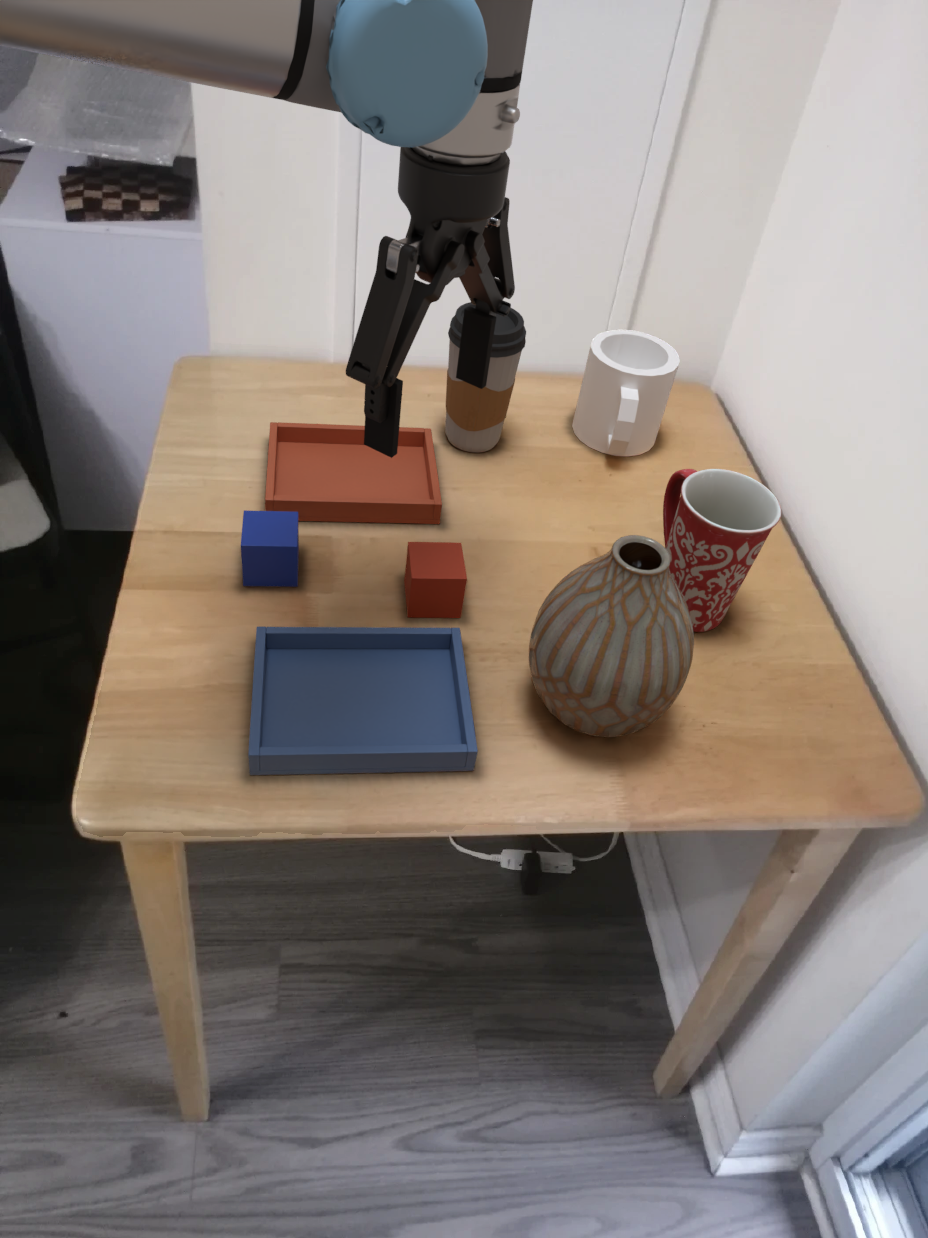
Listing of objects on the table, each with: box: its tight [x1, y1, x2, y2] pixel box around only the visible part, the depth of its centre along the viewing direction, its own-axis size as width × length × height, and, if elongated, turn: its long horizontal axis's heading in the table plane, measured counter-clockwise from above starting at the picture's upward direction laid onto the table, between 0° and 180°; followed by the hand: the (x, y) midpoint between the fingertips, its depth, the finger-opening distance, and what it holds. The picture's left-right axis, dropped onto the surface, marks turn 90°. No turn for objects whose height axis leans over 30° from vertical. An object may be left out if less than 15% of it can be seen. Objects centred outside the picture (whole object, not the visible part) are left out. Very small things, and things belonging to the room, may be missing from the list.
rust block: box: [403, 541, 468, 619], centre depth 87 cm, size 5×5×5 cm
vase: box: [528, 534, 695, 738], centre depth 76 cm, size 13×13×18 cm
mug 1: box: [571, 328, 680, 457], centre depth 108 cm, size 14×10×11 cm
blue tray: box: [247, 626, 479, 776], centre depth 78 cm, size 18×14×3 cm
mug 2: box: [662, 468, 782, 633], centre depth 89 cm, size 13×9×14 cm
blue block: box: [240, 509, 300, 588], centre depth 87 cm, size 5×5×5 cm
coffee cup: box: [444, 301, 527, 453], centre depth 103 cm, size 8×8×15 cm
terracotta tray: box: [264, 421, 443, 525], centre depth 99 cm, size 18×14×3 cm
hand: (428, 413), depth 78 cm, fingers open, 13 cm apart
